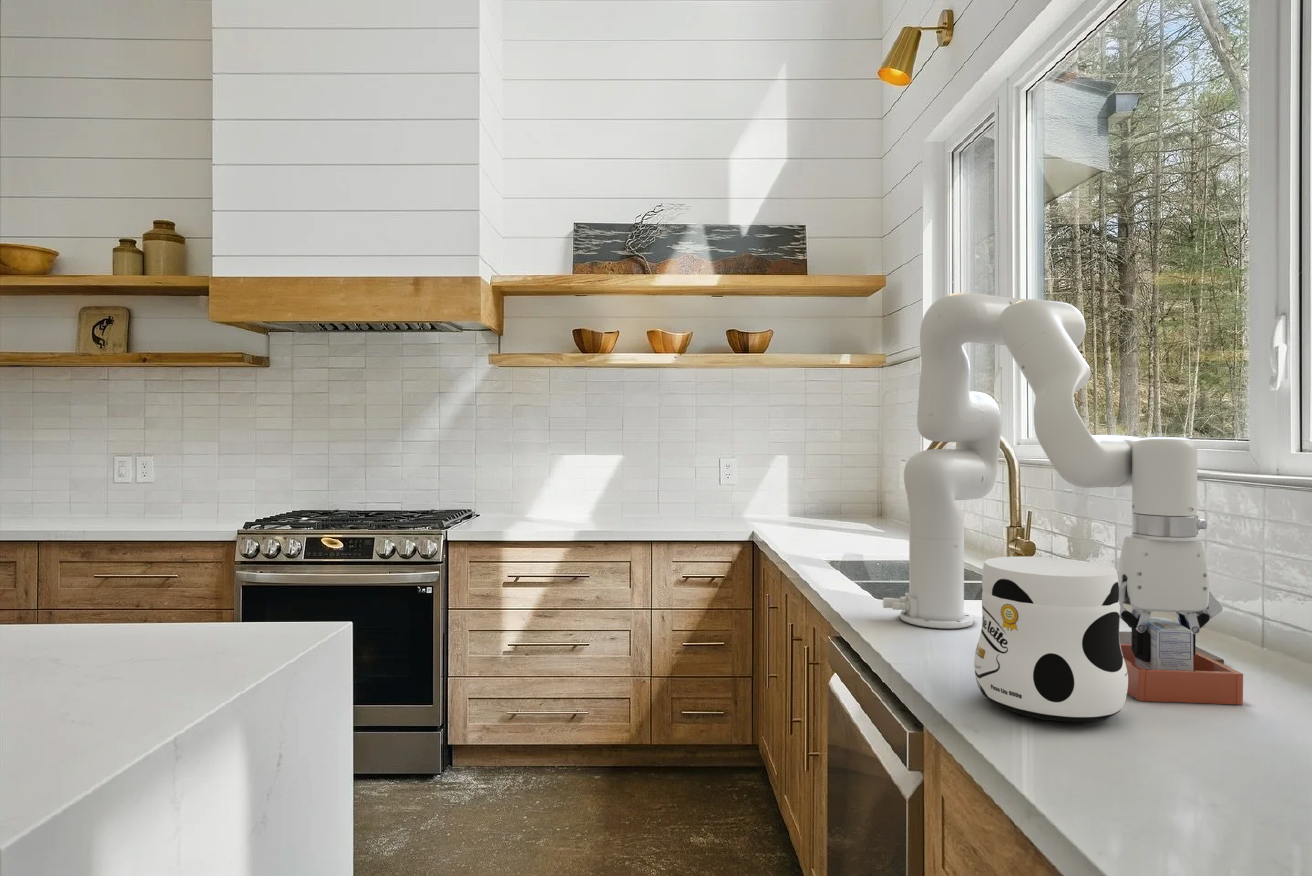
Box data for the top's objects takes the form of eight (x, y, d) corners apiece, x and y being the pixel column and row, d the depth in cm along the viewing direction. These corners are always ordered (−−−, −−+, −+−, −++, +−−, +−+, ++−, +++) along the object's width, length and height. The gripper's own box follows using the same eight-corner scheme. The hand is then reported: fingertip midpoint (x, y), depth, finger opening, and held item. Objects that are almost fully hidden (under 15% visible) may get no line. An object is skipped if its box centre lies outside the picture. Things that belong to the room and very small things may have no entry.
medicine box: (1194, 696, 105) (1195, 630, 104) (1156, 694, 105) (1157, 629, 105) (1168, 678, 112) (1169, 617, 112) (1133, 676, 113) (1134, 615, 113)
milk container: (944, 696, 105) (945, 559, 104) (1040, 679, 111) (1040, 551, 111) (1057, 743, 89) (1058, 582, 88) (1161, 721, 96) (1162, 572, 95)
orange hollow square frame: (1138, 700, 103) (1138, 670, 103) (1092, 669, 116) (1092, 642, 116) (1243, 704, 101) (1243, 673, 101) (1184, 672, 115) (1184, 645, 115)
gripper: (1214, 525, 111) (1213, 654, 112) (1086, 523, 113) (1086, 650, 113) (1247, 531, 104) (1246, 670, 104) (1110, 529, 106) (1110, 665, 106)
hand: (1163, 658), depth 109 cm, fingers closed on medicine box, 4 cm apart
